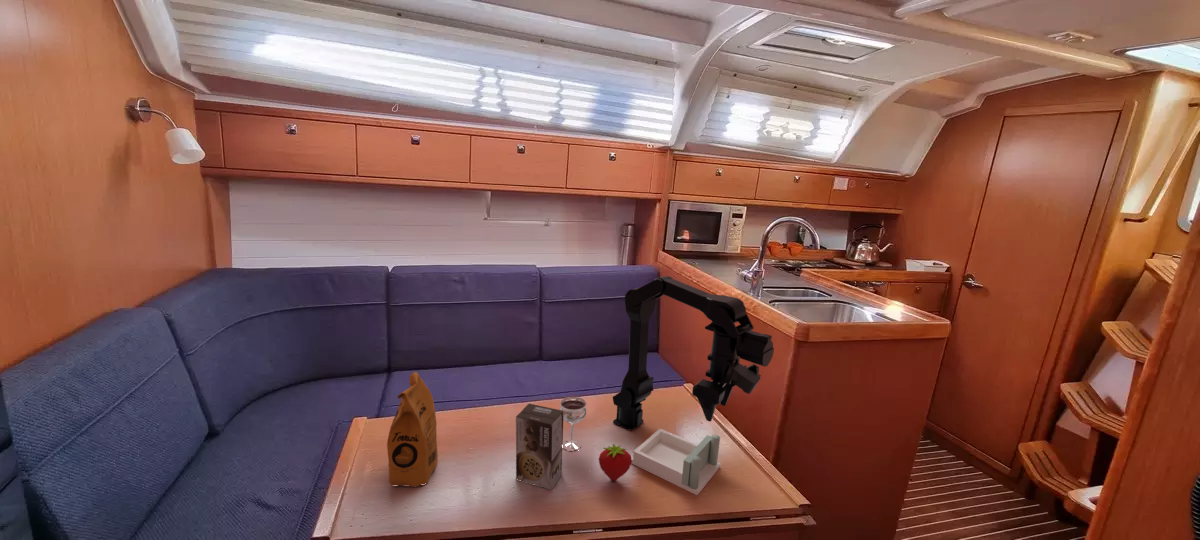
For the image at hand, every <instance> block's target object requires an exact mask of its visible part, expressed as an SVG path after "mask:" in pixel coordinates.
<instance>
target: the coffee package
mask: <svg viewBox="0 0 1200 540" xmlns="http://www.w3.org/2000/svg"><path fill="white" fill-rule="evenodd" d="M408 379H409V381H408V382H409V387H408V388H407V389H405V390H404V391H402V392H401V393H400V394H398V395H397V399H400V402H399V404H398V407H397V409H396V413H395V414H394V418H393V419H392V422H391V425H390V428H389V433H388V436H387V442H386V449H387V458H388V459H387V460H388V482H389V484H390V485H391V486H392V485H409V486H408V487H412V486H418V485H421V484H425V483H427V482H428V483H429V481H430V478H431V475H432V473H433V472H434V471H435V469H436V467H437V465H438V460H439V458H438V457H439V455H438V442H437V441H438V440H437V424H438V423H437V417H436V408H435V402H434V399H433V395H432V393H431V390H430V389H429V387H428V386H427V385H426V383H425V382H424V380H423V379H422V378H421V376H420V375H419V373H418V372H417V371H414V372H412V373H411V374H410V375H409V378H408ZM428 480H429V481H428ZM428 483H427V484H428ZM418 487H419V486H418Z"/></svg>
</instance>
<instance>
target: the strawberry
mask: <svg viewBox="0 0 1200 540" xmlns="http://www.w3.org/2000/svg"><path fill="white" fill-rule="evenodd" d="M621 446H622V445H618V446H616V443H612V446H610V445H607V447H603V449H604V450H603V451H601V453H600V455H599V457H598V463H599V466H600V469H601V470H602V472H603V473H604V474H605V475H606V476H607V478H608V479H610V481H612V482H616V481H618V479H620V478H621V477H623V476H624V475H625V474H626V473H627V472H628V471H629V469H630V467H631V465H632V459H631V457H632V454H630V453H629V452H628V451H627V448H625V447H624V448H623V447H621Z"/></svg>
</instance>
